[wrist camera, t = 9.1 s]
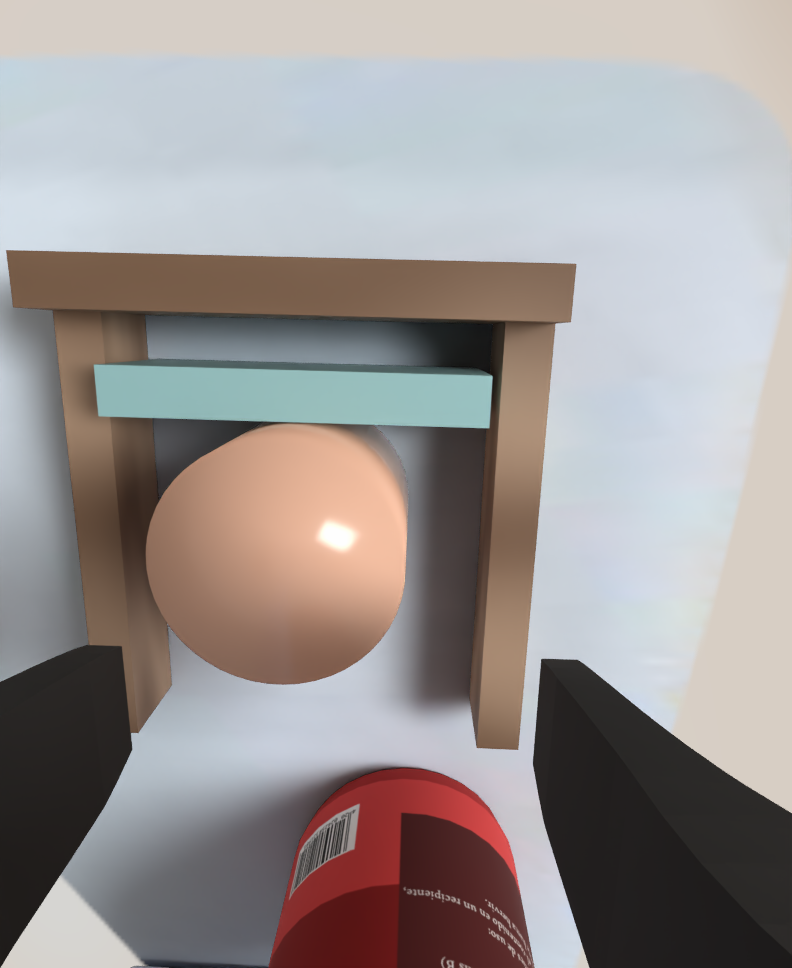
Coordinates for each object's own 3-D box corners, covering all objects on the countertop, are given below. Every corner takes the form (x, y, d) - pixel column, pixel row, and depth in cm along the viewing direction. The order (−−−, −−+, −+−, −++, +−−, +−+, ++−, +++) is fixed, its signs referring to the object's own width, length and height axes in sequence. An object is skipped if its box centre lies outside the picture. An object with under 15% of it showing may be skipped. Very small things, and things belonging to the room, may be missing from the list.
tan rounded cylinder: (418, 416, 18) (420, 455, 12) (397, 587, 19) (390, 697, 13) (234, 395, 18) (147, 424, 12) (226, 567, 19) (144, 669, 13)
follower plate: (474, 409, 17) (489, 428, 14) (161, 400, 18) (98, 416, 14) (477, 367, 17) (492, 376, 14) (158, 358, 17) (93, 364, 14)
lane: (505, 699, 20) (527, 787, 16) (136, 683, 20) (69, 766, 16) (539, 280, 17) (576, 263, 13) (99, 269, 17) (6, 250, 13)
